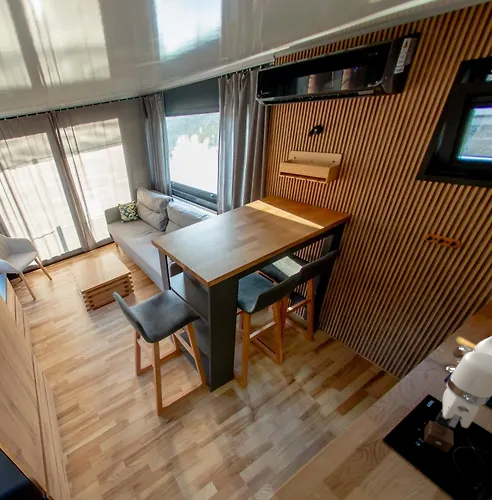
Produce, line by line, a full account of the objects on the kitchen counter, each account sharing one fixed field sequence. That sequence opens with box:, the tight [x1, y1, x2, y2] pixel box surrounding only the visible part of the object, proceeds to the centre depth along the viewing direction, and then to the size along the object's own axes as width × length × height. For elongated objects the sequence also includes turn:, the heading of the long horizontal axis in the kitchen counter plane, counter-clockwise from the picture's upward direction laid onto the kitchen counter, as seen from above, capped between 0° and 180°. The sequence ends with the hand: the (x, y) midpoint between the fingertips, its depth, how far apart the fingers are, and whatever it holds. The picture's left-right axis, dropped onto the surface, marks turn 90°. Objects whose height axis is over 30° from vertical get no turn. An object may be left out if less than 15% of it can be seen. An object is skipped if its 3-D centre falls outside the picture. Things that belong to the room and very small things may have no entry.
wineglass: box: [446, 344, 475, 375], centre depth 97 cm, size 6×6×12 cm
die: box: [423, 420, 454, 453], centre depth 81 cm, size 5×5×5 cm
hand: (442, 423), depth 81 cm, fingers closed
